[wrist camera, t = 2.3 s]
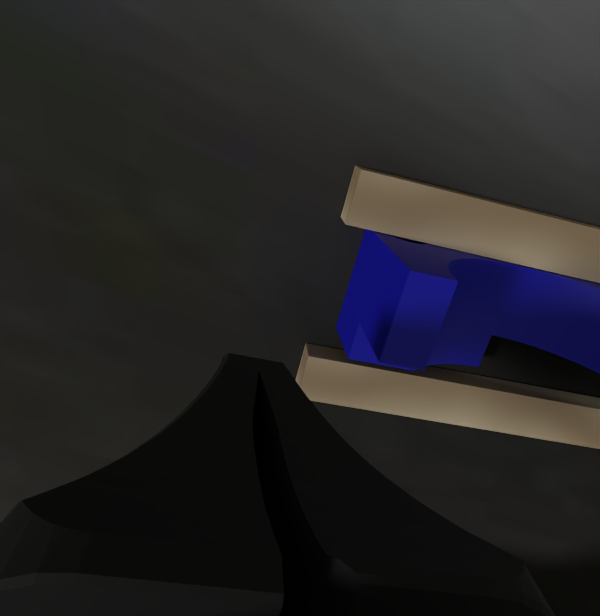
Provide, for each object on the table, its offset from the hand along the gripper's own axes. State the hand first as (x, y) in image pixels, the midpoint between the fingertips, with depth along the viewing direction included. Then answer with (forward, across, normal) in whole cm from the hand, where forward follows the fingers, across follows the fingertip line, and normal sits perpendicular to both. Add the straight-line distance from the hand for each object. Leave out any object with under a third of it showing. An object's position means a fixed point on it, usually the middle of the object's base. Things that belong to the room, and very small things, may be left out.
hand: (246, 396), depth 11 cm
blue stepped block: (+10, -10, 0) cm, 14 cm away
